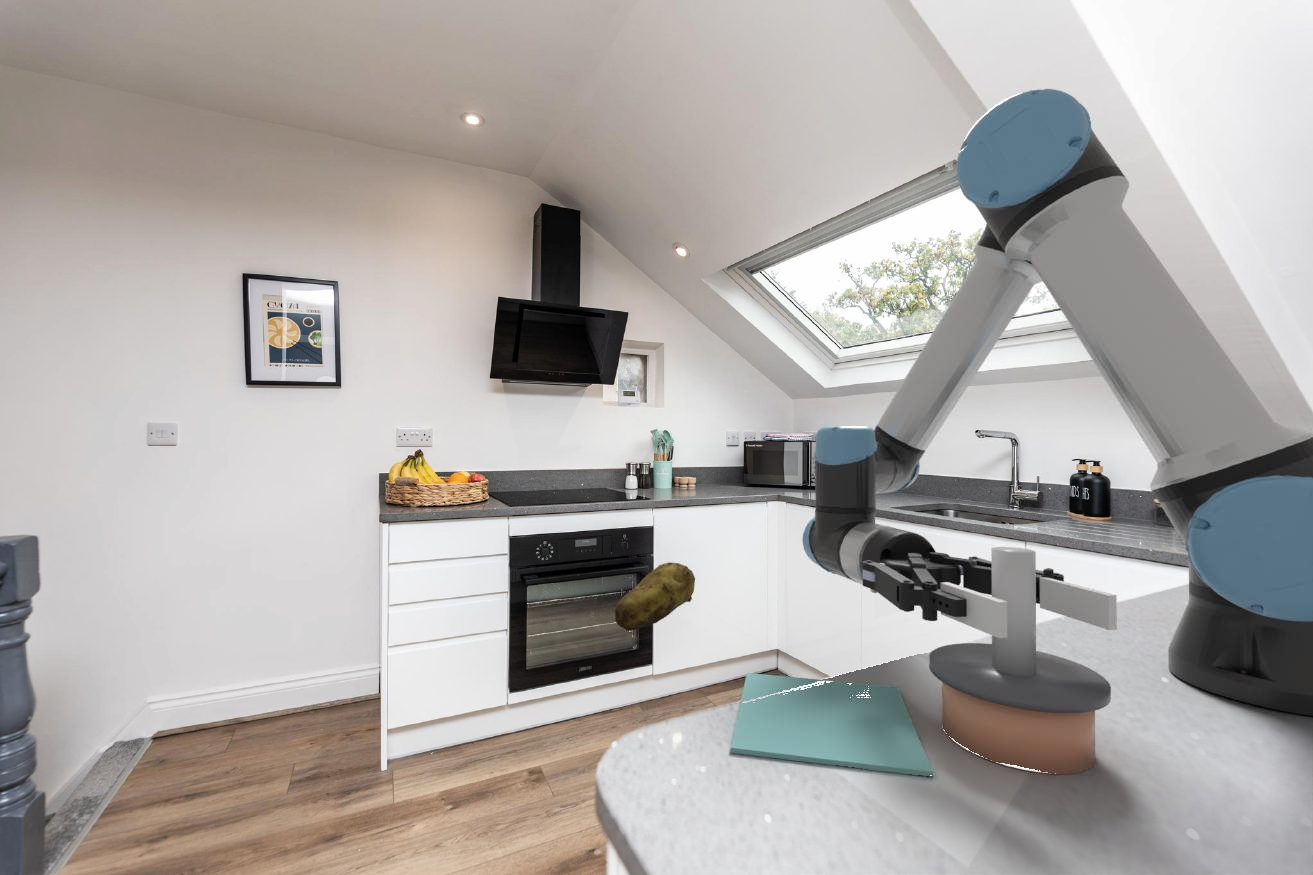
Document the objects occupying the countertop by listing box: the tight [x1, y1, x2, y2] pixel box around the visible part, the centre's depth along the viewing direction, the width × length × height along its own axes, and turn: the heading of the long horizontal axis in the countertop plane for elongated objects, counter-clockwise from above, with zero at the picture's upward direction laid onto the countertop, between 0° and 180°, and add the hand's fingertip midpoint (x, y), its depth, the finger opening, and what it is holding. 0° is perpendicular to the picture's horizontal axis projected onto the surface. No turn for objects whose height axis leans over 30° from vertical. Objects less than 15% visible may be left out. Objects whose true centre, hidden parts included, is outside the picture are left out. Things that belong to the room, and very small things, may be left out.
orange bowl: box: [941, 682, 1096, 775], centre depth 50 cm, size 11×11×5 cm
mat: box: [730, 672, 934, 777], centre depth 53 cm, size 15×16×1 cm
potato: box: [614, 561, 696, 631], centre depth 82 cm, size 8×13×8 cm, turn 116°
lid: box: [928, 546, 1112, 713], centre depth 50 cm, size 13×13×11 cm
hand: (1059, 616), depth 46 cm, fingers open, 9 cm apart
